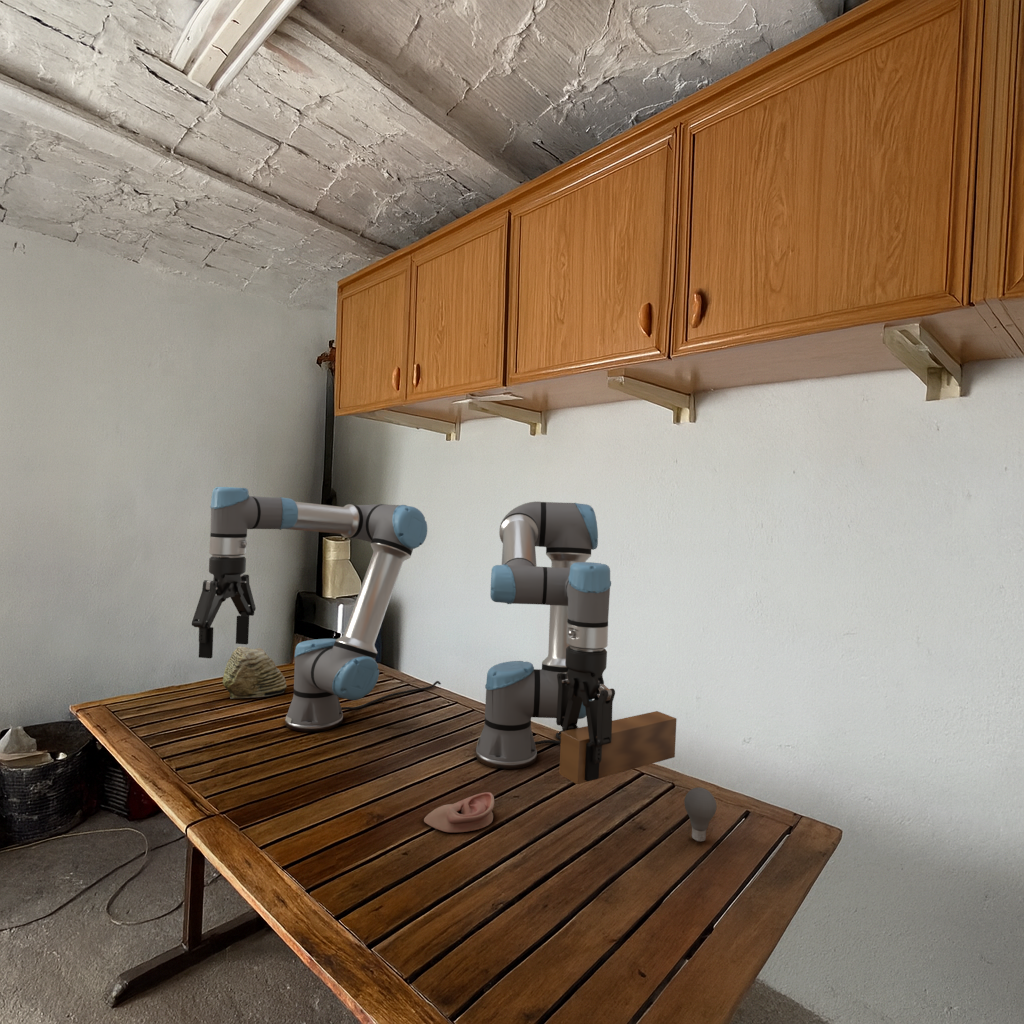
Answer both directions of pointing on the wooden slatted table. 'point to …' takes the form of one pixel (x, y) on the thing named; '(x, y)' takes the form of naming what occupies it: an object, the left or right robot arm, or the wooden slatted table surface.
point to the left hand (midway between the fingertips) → (224, 650)
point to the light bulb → (700, 811)
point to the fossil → (252, 674)
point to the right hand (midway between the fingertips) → (580, 772)
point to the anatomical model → (463, 814)
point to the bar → (620, 746)
